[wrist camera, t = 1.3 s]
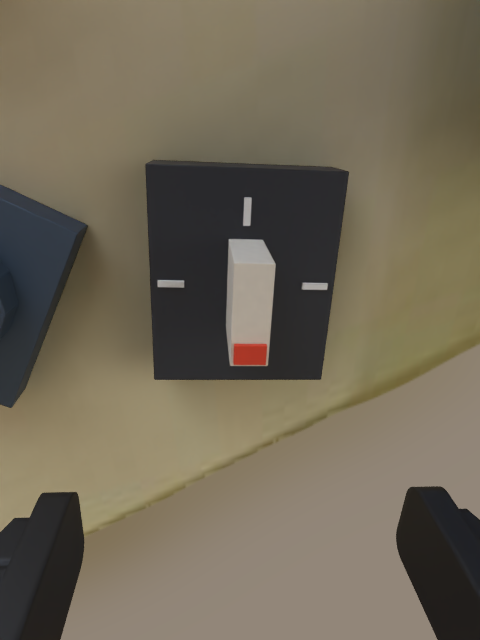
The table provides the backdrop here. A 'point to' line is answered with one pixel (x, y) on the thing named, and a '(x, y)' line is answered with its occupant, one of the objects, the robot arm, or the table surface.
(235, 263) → the white rectangular block
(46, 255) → the switch block
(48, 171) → the table surface
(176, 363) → the dial panel
